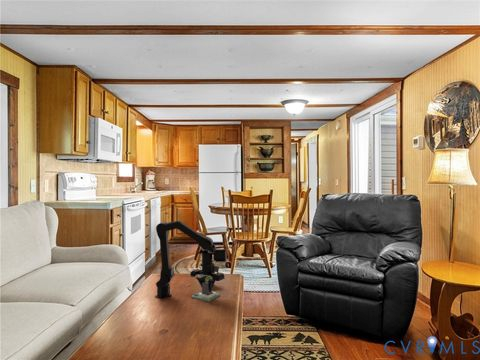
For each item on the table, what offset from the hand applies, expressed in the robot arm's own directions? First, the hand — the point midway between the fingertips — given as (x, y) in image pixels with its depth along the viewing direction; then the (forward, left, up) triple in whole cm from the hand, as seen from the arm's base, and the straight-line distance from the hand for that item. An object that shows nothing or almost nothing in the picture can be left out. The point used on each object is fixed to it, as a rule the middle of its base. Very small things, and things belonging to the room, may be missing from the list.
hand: (207, 290), depth 186 cm
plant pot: (+17, +12, -4) cm, 21 cm away
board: (0, +1, -3) cm, 3 cm away
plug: (0, 0, -1) cm, 1 cm away
